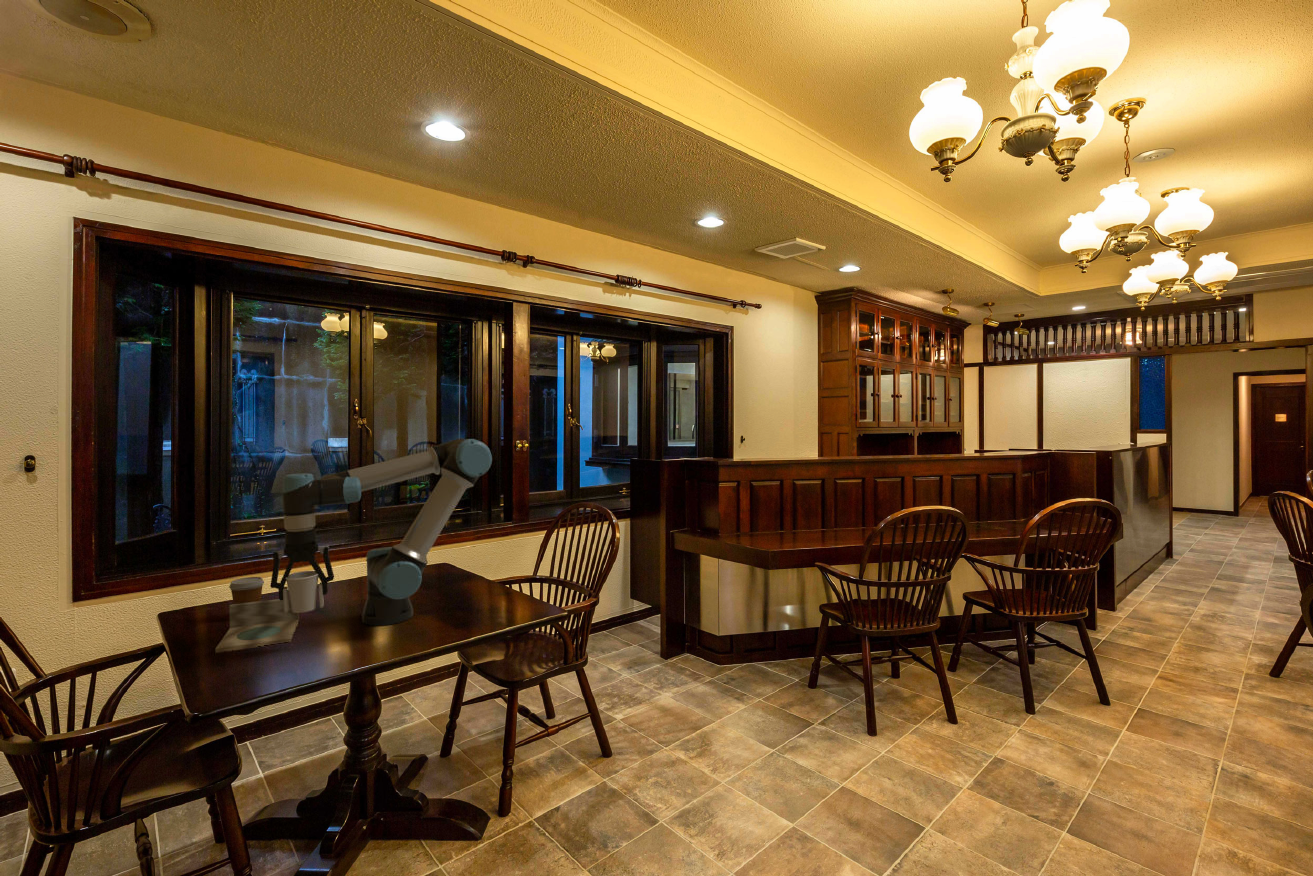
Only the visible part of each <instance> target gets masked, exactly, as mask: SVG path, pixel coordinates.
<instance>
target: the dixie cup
mask: <svg viewBox="0 0 1313 876" xmlns="http://www.w3.org/2000/svg"><path fill="white" fill-rule="evenodd" d="M285 579H286V580H287V581H286V585H287V586H286V587H288V597H289V598H290V601H291V606H292V611H293V612H294V613H299V614H301V613H307V612H311V611H314V610H315V609H316V607H317V596H318V595H317V594H318V587H319V577H318V574H316V572H315V570H303V571H297V572H293V573H290V574H289V576H288V578H287V577H286V578H285Z"/></svg>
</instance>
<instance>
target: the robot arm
mask: <svg viewBox="0 0 1313 876" xmlns="http://www.w3.org/2000/svg"><path fill="white" fill-rule="evenodd" d="M492 456H493V455H492V453H491V450H490V448H489V447H488V445H486V444H485V443H484V442H482V441H480V440H477V439H475V438H468V439H467V438H456V439H453V440H452V439H451V440H449V441H447V442H444V443H441V444H437V445H434V446H430V447H428V449H427V450H426V451H421V452H418V453H414V454H410V455H409V454H408V455H405V456H402V457H398V458H394V459H390V460H385V461H381V462H376V463H373V464H369V465H364V466H361V467H357V468H352V469H348V470H345V471H340V472H337V473H326V474H324V475H323V476H321V477H320V478H319V479H315V478H314V475H313V474H312V473H309V472H308V473H307V472H305V473H291V474H285V476H283V478H282V491H281V492H282V506H283V522H284V523H283V524H284V529H285V531H284V541H285V542H284V543H285V545H284V546H285V547H284V549H282V550H275V551H273V553H272V558H273V565H272V566H273V567H272V572H271V573H272V574H271V580H270V588H271V589H277V590H278V599H279V600H284V613H285V612H288V610H289V604H288V598H289V591H288V586H285V585H286V584H287V580H286V579H285V578H286V577H287V578H288V576H289V574H291V571H292V569H293V567H294V565H295V564H298V563H301V562H303V563H305V562H308V563H309V564H310V565H311V567H312V569H313V571H315V572H316V574H318V580H319V581H320V582H319V583H318V591H319V592H318V594H319V595H318V596H319V608H324V605H325V601H324V600H325V599H324V595H325V596H326V595H327V594H328V591H329V590H328V583H329V582H332V581H334V578H335V574H334V571H333V568H332V566H333V565H332V564H331V563H332V562H331V559H330V554H329V551H330V546H329V545H325V546H322V545H321V546H320V545H319V544H318V543H317V529H316V528H315V526H316V525H317V524H316V510H315V509H316V508H315V507H321V506H330V505H331V506H332V505H341V504H343V505H344V504H348V505H349V504H351V503H358V502H359V501H360V500H361V497H362V492H365V491H368V490H373V489H376V488H380V487H383V486H387V485H392V484H395V483H400V482H403V481H407V480H411V479H414V478H415V479H416V478H418V477H422V476H427V475H430V474H434V475H441V477H440V479H439V480H438V482H437V483H436V485H435V487H434V489H433V490H432V491H431V493H430V495H429V496H428V498H427V500H426V502H425V503H424V505H423V506H422V508H421V509H420V511H419V513H418V515H417V516H416V518H415V519H414V520H413V523H412V524H411V525H410V527H409V528H408V529H409V530H408V531H407V532H406V534H405V535H404V537H403V539H402V540H401V542H400V543H399V544H398V543H397V544H394V545H393V546H387V547H378V548H373V549H370V550H368V551H367V553H366V559H365V561H366V573H367V574H366V579H367V581H366V583H367V597H366V601H365V604H364V608H363V611H362V615H361V620H362V621H361V622H362V624H364V623H365V625H367V624H368V626H387V625H395V624H398V623H402V622H405V621H407V620H409V619H411V618H412V617H413V615H414V608H413V605H412V602H411V600H410V598H409V597H410V596H412V595H414V594H415V593H416V592H417V591H418V590H419V588H420V586H421V583H422V579H423V576H422V574H423V572H424V570H425V569H426V567H427V565H428V558H427V555H428V554H429V552H430V551H431V548H432V547H433V545H434V544H435V542H436V540H437V539H438V538H439V535H440V534H441V532H442V531H443V528H444V527H445V526H446V524H447V522H448V521H449V520H450V517H451V515H452V514H453V512H454V510H455V508H456V507H457V505H458V504H459V502H460V500H461V499H462V497H463V495H464V493H465V492H466V490H467V489H469V488H472V487H474V486H475V484H476V483H477V481H478V479H479V478H480V477H481V476H483V475H485V474H486V473H487V472H488V471H489V469H490V468H491V465H492V464H493V463H492V461H493V457H492ZM318 551H319V552H320V555H322V557H323V558H322V559H323V562H324V566H325V571H326V574H327V576H326V575H325V572H324V571H323V570H322V568H321V566H320V564H319V563H318V561H317V559H316V557H315V555H316V553H317V552H318ZM284 555H285V556H286V557H287V558H288V559H289V561H288V563H287V566H286V568H285V571H284V573H283V575H282V578H281V580H280V582H278V579H279V572H280V566H281V560H282V558H283V556H284Z"/></svg>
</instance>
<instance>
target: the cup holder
mask: <svg viewBox="0 0 1313 876" xmlns="http://www.w3.org/2000/svg"><path fill="white" fill-rule="evenodd" d="M288 604H289V610H288V612H285V613H284V600H279V598H277V599H270V600H261V601H258V602H249V603H240V604H234V603H233V604H230V605H229V629H228V630H227V631H226V633H225V634H224V636H223V638H222V639H221V640H220V642H219V643H218V644H217V646H216V647H215V651H214V652H215V654H218V653H225V651H226V652H232V650H233V651H239V650H247V649H254V648H259V647H258V646H261V647H265V646H264V645H269V646H271V645H270V644H276V645H278V644H277V643H283V642H290V643H291V642H292V640H293V638H292V637H294V635H293V634H295V633H296V630H297V628H298V625H299V623H300V613H294V612H293V611H292V606H291V601H290V597H288ZM298 622H299V623H298ZM296 627H297V628H296ZM294 632H295V633H294ZM291 639H292V640H291ZM283 644H284V643H283Z"/></svg>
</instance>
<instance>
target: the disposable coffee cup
mask: <svg viewBox="0 0 1313 876" xmlns="http://www.w3.org/2000/svg"><path fill="white" fill-rule="evenodd" d="M264 583H265V581H264V579H263V577H261V576H249V577H242V578H236V579H234V580H232V581H231V582H230V585H229V589H230V593H231V597H232V601H233V604H240V603H249V602H258V601H262V593H263V592H262V591H263V585H264Z"/></svg>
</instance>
